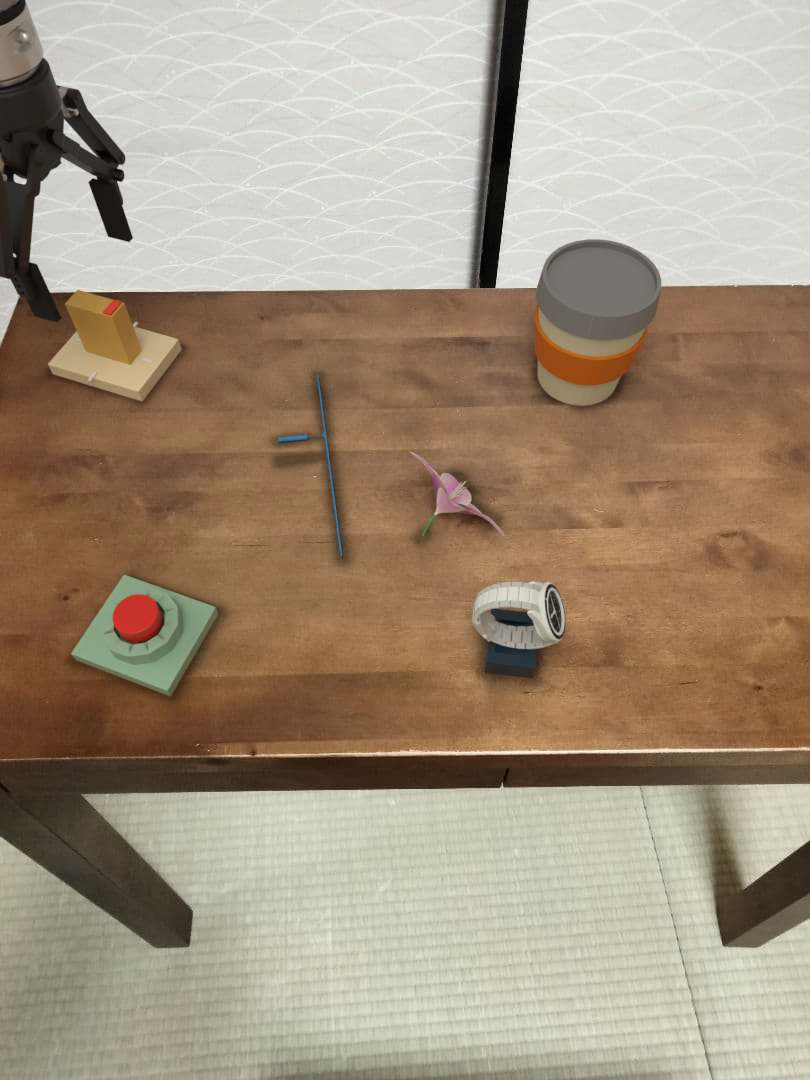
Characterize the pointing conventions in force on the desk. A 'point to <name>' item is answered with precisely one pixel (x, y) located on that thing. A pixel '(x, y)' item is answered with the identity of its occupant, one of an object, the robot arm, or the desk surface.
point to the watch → (518, 624)
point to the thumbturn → (103, 326)
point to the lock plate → (118, 365)
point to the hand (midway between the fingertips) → (85, 276)
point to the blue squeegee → (304, 437)
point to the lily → (451, 496)
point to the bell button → (137, 618)
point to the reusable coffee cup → (592, 317)
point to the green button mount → (160, 655)
